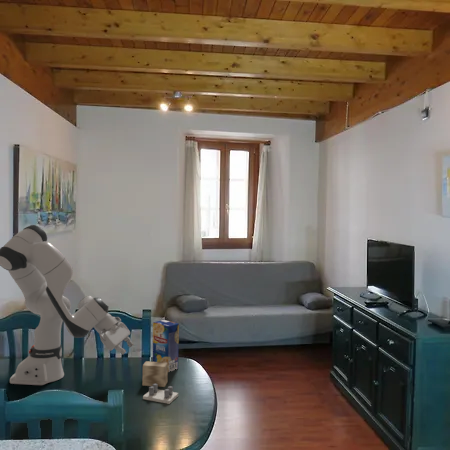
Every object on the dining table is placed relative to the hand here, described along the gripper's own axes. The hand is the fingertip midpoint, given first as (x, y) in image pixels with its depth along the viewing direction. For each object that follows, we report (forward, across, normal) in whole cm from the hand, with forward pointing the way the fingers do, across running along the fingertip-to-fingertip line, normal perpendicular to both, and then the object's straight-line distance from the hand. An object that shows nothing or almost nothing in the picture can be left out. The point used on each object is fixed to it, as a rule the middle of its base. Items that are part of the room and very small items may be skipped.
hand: (128, 349), depth 190 cm
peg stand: (+23, -12, -2) cm, 27 cm away
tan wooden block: (+19, 0, +2) cm, 19 cm away
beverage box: (+19, +20, +2) cm, 28 cm away
